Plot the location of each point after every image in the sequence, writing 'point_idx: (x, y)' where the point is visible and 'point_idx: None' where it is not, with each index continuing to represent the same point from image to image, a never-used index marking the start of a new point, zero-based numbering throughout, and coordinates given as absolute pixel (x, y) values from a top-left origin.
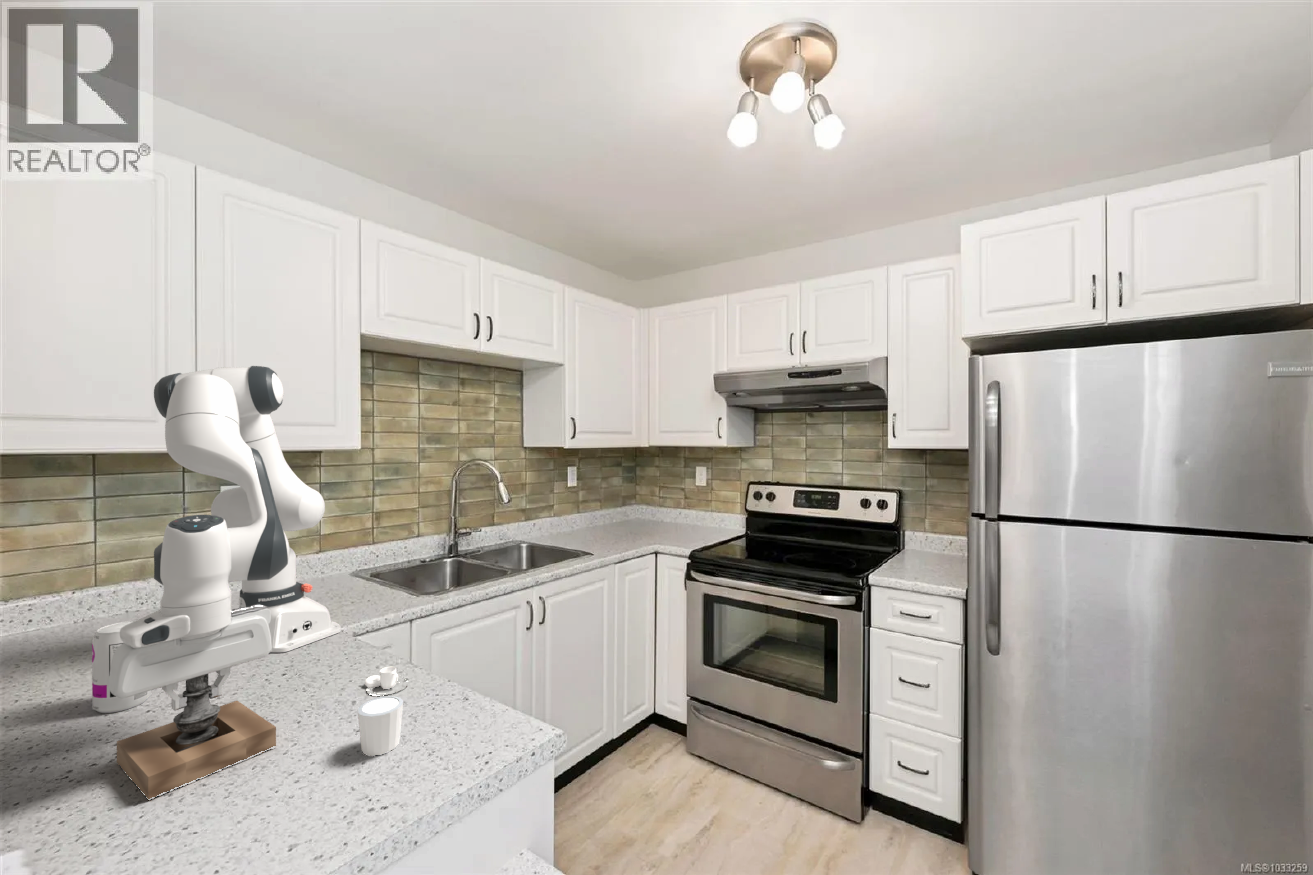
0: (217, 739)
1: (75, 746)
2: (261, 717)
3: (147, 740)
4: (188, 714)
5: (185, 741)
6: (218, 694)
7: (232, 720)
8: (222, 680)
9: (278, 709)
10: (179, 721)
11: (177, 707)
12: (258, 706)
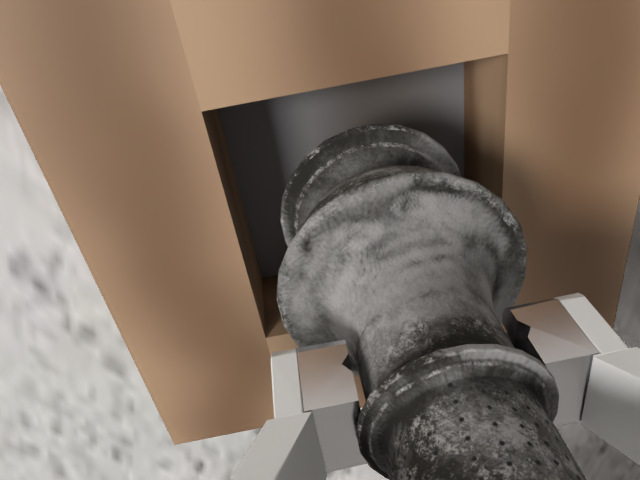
0: (304, 63)
1: (584, 458)
2: (53, 188)
3: (540, 295)
4: (476, 260)
5: (439, 163)
6: (297, 357)
7: (207, 257)
8: (275, 459)
9: (20, 365)
10: (512, 238)
11: (575, 303)
12: (103, 428)
